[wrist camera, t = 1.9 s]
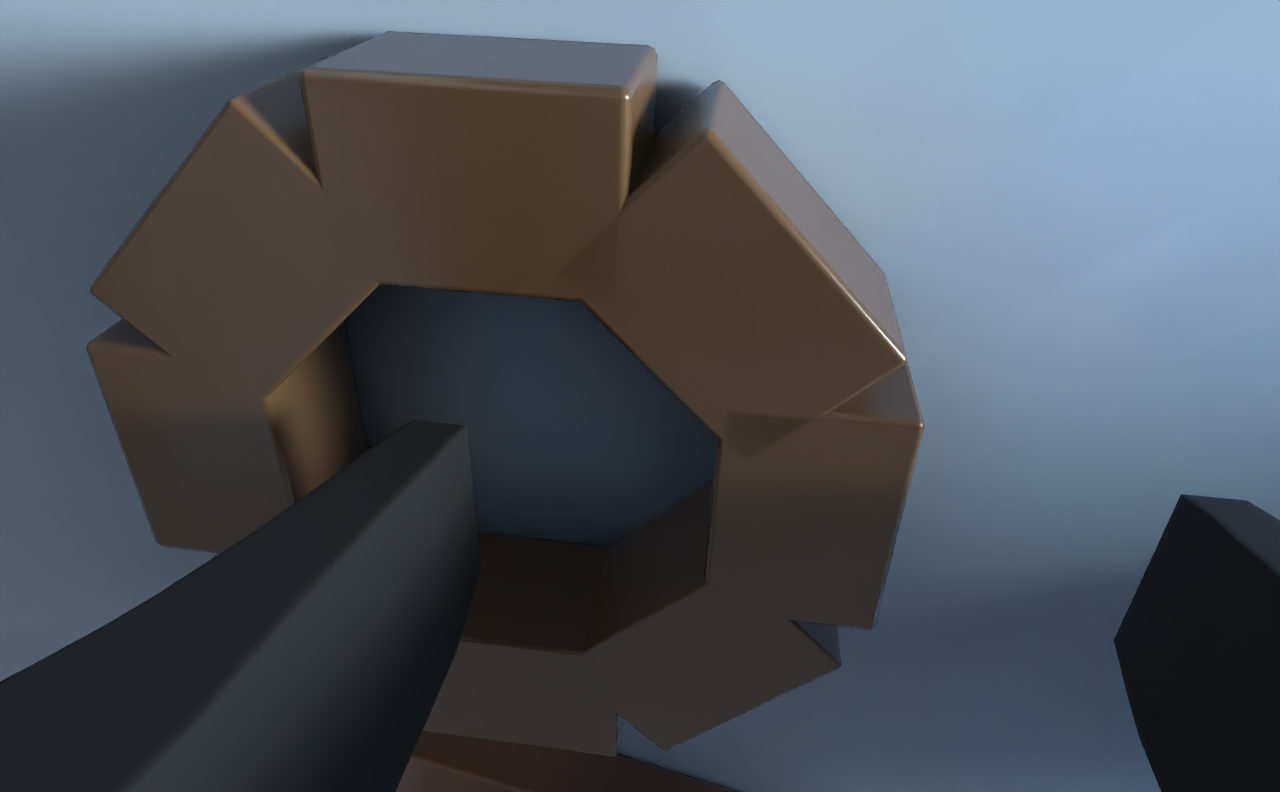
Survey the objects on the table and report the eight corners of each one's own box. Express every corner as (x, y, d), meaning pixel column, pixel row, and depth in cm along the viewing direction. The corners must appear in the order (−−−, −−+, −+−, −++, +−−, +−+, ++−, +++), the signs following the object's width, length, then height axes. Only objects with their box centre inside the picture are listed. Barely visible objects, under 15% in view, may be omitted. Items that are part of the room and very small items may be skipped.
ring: (279, 602, 14) (210, 704, 12) (118, 14, 9) (-27, 49, 8) (828, 669, 13) (835, 788, 11) (959, 60, 8) (1004, 110, 7)
